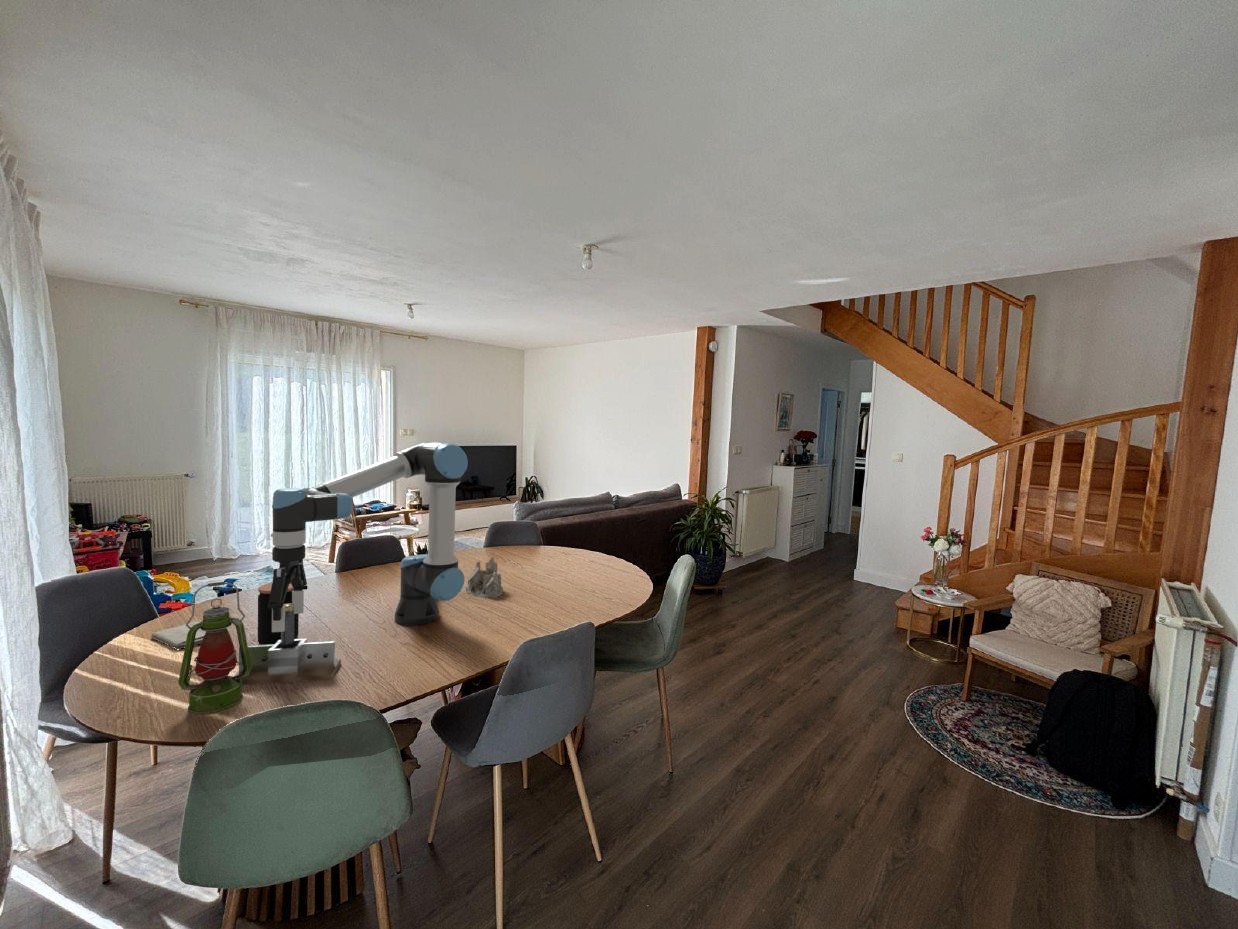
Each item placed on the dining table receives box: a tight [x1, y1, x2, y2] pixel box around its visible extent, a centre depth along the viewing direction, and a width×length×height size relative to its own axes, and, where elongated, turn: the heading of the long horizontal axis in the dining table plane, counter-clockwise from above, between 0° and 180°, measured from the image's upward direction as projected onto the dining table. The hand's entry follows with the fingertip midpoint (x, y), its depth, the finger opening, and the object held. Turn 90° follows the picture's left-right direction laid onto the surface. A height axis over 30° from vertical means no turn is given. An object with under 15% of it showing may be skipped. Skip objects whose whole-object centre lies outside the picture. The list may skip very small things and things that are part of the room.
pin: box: [281, 603, 294, 648], centre depth 137 cm, size 3×3×18 cm
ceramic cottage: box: [464, 556, 504, 599], centre depth 216 cm, size 16×16×15 cm
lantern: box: [178, 581, 251, 716], centre depth 122 cm, size 14×11×30 cm
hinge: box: [238, 638, 336, 676], centre depth 138 cm, size 23×7×7 cm, turn 104°
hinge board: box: [232, 658, 342, 686], centre depth 138 cm, size 24×9×2 cm, turn 104°
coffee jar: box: [257, 582, 300, 645], centre depth 158 cm, size 11×11×18 cm
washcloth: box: [150, 620, 206, 650], centre depth 158 cm, size 12×18×3 cm, turn 64°
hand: (288, 622), depth 137 cm, fingers open, 13 cm apart
